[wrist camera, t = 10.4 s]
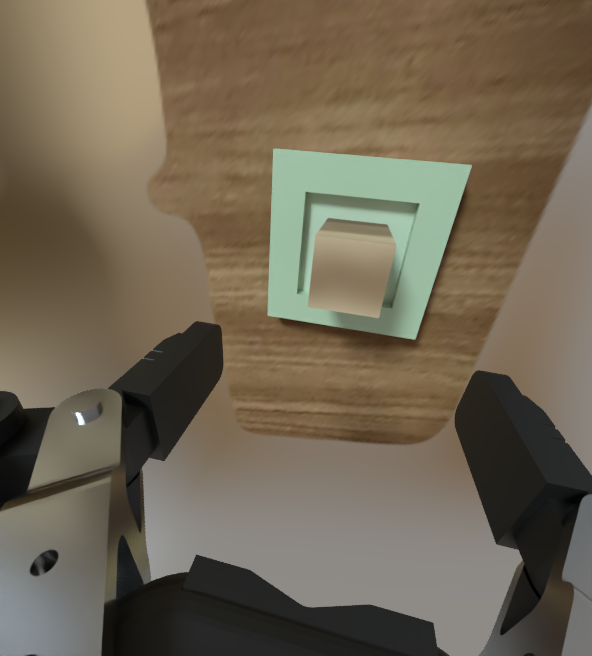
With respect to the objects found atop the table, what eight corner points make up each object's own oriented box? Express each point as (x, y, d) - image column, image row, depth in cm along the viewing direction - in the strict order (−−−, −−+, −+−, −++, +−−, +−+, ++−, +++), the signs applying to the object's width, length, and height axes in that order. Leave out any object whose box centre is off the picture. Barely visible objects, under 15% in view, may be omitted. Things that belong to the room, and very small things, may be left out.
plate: (281, 150, 22) (273, 148, 20) (462, 165, 20) (472, 165, 19) (274, 305, 29) (267, 315, 27) (411, 327, 27) (415, 339, 25)
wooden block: (328, 217, 23) (315, 235, 17) (387, 224, 22) (396, 245, 16) (321, 273, 25) (307, 307, 19) (374, 281, 24) (378, 318, 18)
